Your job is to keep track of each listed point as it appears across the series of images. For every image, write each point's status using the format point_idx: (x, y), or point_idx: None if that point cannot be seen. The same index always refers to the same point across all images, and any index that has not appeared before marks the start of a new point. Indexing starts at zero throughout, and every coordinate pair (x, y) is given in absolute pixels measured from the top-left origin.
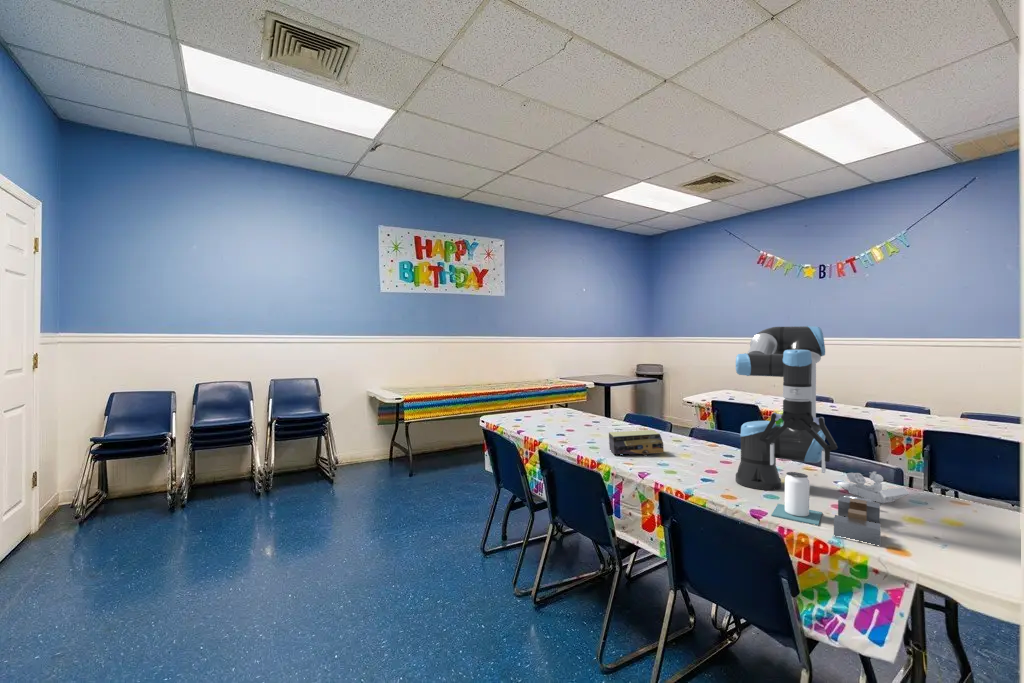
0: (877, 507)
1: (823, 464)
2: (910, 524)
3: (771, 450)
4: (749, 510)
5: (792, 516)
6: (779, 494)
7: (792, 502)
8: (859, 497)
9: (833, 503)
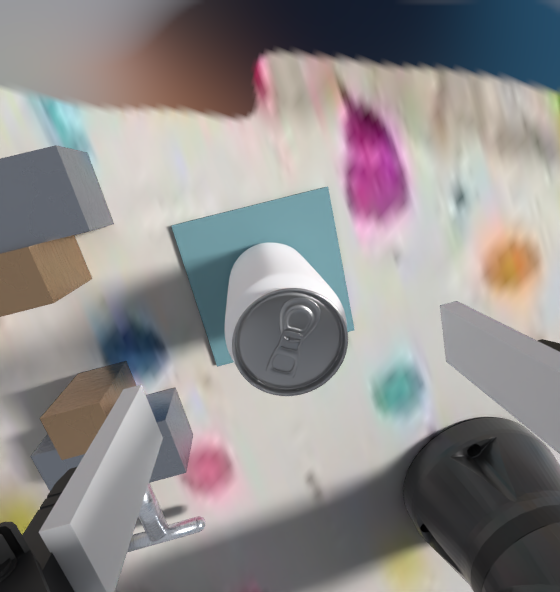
0: (39, 458)
1: (109, 425)
2: (2, 483)
3: (533, 347)
4: (406, 179)
5: (267, 233)
6: (385, 433)
7: (275, 249)
8: (154, 538)
9: (232, 484)
